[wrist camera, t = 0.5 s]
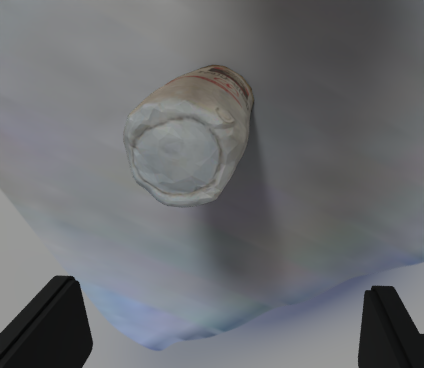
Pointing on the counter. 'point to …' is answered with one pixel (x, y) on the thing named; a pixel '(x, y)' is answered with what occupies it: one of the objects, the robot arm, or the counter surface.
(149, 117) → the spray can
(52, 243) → the counter surface
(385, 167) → the counter surface
